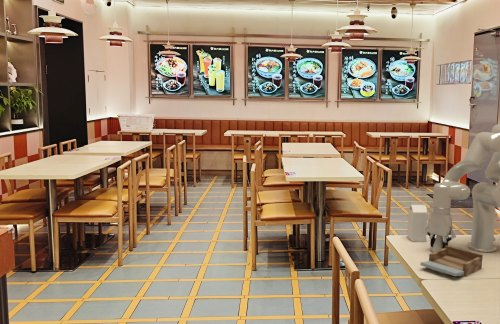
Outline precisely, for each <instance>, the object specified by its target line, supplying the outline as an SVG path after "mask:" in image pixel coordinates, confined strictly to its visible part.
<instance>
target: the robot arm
mask: <svg viewBox="0 0 500 324" xmlns="http://www.w3.org/2000/svg"><path fill="white" fill-rule="evenodd" d="M491 152H492V153H493V155H492V156H491V159H490V161H489V163H488V165H487V166H486V168H485V171H484V176H485V178H486V179H487V180H488V181H490V182H494V183H496V184H493V183H490V182H484V181H481V182H477V183H476V184H475V185H474V186H473V188H472V190H471V189H470V187H469V185H467V184H464V183H461V182H459V180H460V179H462V177H463V176H465V175H466V174H468V173H471V172H474V171H477V170H479V169H481V168H482V167H483V165H484V163H485V161H486V159H487V158H488V156H489V154H490V153H491ZM470 195H471V197H472V202H473V204H472V208H473V209H472V218H471V219H472V221H471V223H472V224H471V235H470V236H471V238H470V241H469V242H467V244H466V246H467V248H469V249H470V250H472V251H477V252H481V253H493V252H496V251H497V246H496V245H494V242H495V241H496V238H495V225H496V215H497V214H496V212H497V211H496V208H500V123H497V124H495V125H493V127H492V129H491V132H490V131H489V132H488V131H481V132H479V133H477V134H476V135H475V137H474V138H473V140H472V141H471V144H470V145H469V148H468V150H467V151H466V153H465V154H464V157H463V158H462V159H461V160H460V161H459V162H457V163H456V164H455V165H453V166H452V167H451V168H450V169H449V170H448V171H447V172H446V174H445V176H444V178H443V179H442V182H439V183H438V182H437V183H435V184H434V185H433V195H432V196H433V199H432V205H430V208H429V209H431V211H430V213H429V216H428V219H427V227H426V228H425V229H424V230H425V231H426V235H427V236H428V237H429V239H430V248H432V247H433V245H434V242H435V240H436V236H437V235H439V236H443V241H444V242H443V248H445V246H446V245H447V246H449V243H450V241H452V240H453V239H454V238H456V237H457V235H456V233H455V232H454V230H453V219H452V217H453V216H452V214H451V205H452V203H451V202H452V200H454V201H465V200H467V199H468V198H469V197H470ZM495 207H496V208H495Z"/></svg>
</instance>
